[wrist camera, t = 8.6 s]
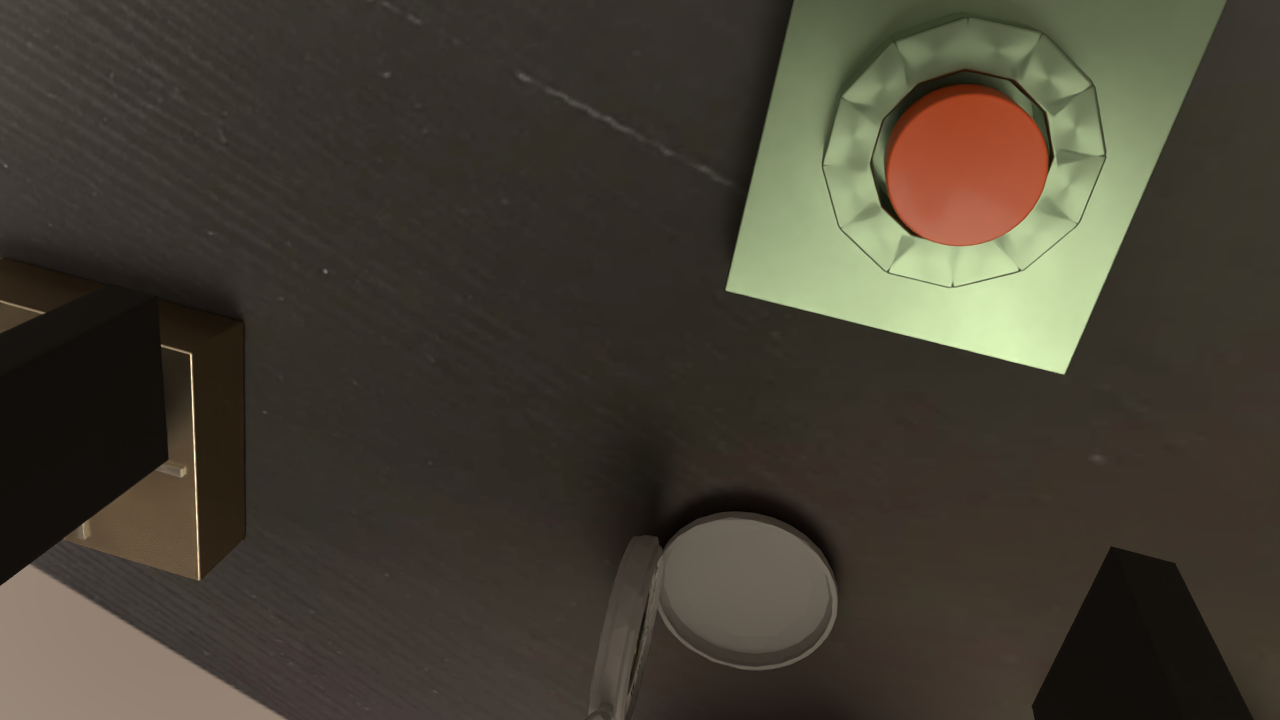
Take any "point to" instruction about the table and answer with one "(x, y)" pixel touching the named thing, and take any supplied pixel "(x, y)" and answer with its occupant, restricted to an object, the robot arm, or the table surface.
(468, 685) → the table surface
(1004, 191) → the button
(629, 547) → the pocket watch
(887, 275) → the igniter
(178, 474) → the panel
